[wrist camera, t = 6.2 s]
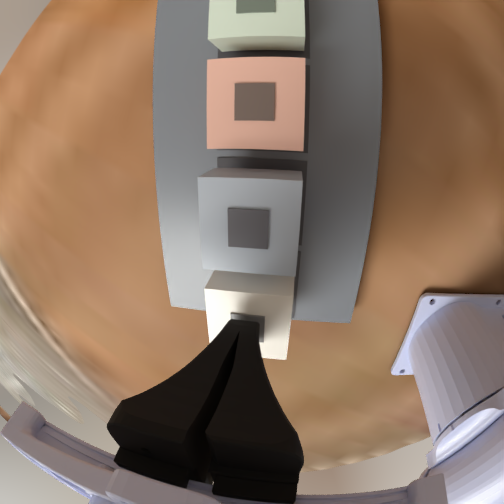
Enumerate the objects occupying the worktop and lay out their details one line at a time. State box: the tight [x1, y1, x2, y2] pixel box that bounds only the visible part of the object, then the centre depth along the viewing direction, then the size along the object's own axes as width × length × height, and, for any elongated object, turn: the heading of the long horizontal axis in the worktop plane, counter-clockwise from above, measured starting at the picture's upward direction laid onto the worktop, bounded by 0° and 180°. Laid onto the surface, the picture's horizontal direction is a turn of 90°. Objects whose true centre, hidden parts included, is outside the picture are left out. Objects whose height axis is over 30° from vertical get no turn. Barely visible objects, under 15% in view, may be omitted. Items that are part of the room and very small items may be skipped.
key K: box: [197, 168, 303, 277], centre depth 12 cm, size 4×4×2 cm
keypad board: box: [153, 0, 382, 323], centre depth 14 cm, size 12×20×1 cm, turn 179°
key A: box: [204, 270, 294, 360], centre depth 14 cm, size 4×4×2 cm
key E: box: [208, 0, 305, 52], centre depth 9 cm, size 4×4×2 cm
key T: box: [207, 57, 305, 151], centre depth 11 cm, size 4×4×2 cm
